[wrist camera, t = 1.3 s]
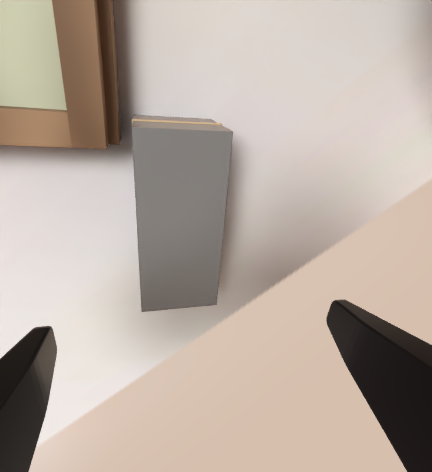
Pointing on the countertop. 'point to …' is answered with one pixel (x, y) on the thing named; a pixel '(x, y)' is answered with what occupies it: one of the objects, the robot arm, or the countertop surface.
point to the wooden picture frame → (58, 74)
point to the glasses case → (180, 208)
